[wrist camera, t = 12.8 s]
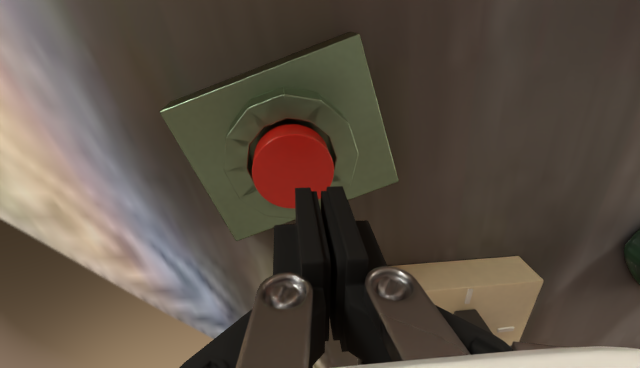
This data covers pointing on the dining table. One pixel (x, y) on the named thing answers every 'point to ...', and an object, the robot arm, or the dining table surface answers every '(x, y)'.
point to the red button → (291, 164)
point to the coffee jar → (633, 255)
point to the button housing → (278, 109)
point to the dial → (473, 318)
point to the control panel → (483, 290)
